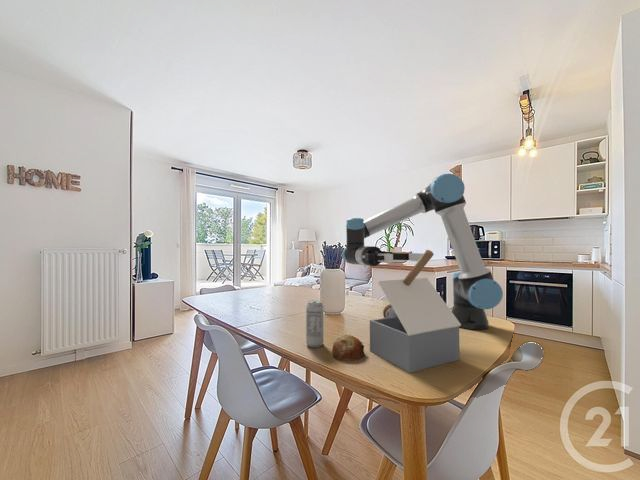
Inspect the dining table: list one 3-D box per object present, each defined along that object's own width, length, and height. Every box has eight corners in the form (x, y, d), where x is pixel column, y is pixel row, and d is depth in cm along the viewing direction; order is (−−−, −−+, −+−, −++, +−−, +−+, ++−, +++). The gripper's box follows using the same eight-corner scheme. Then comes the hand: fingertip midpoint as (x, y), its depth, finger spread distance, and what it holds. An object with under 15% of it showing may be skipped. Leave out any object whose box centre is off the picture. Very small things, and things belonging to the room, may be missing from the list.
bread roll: (337, 359, 94) (327, 337, 95) (364, 346, 94) (354, 324, 94) (338, 372, 84) (327, 348, 85) (369, 358, 84) (357, 333, 84)
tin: (417, 323, 126) (416, 304, 126) (418, 324, 123) (418, 305, 123) (383, 322, 127) (382, 303, 127) (383, 324, 124) (383, 305, 124)
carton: (415, 341, 101) (415, 313, 101) (459, 359, 85) (459, 326, 85) (369, 350, 92) (369, 320, 92) (409, 372, 76) (409, 335, 76)
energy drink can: (325, 342, 100) (325, 300, 100) (320, 348, 94) (320, 304, 94) (309, 341, 101) (309, 299, 102) (303, 347, 95) (303, 303, 96)
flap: (425, 279, 97) (450, 249, 88) (459, 326, 85) (493, 297, 76) (378, 282, 88) (400, 249, 79) (408, 335, 76) (439, 303, 67)
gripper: (394, 264, 115) (436, 268, 96) (341, 266, 104) (377, 271, 85) (393, 246, 115) (435, 246, 96) (341, 246, 104) (377, 246, 85)
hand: (408, 257), depth 90 cm, fingers open, 13 cm apart
